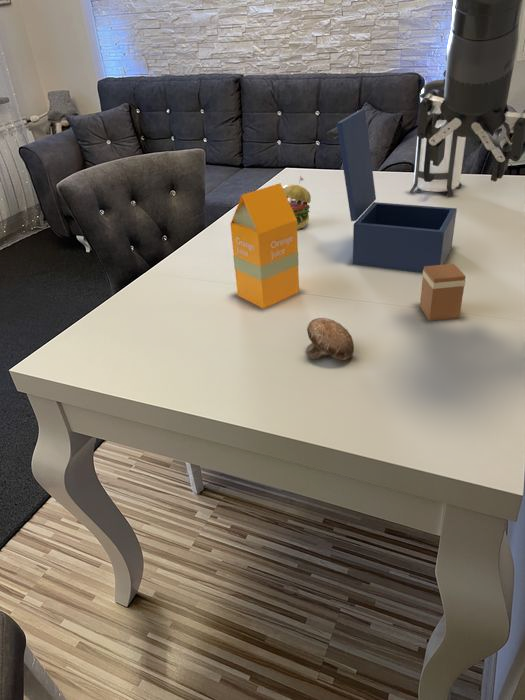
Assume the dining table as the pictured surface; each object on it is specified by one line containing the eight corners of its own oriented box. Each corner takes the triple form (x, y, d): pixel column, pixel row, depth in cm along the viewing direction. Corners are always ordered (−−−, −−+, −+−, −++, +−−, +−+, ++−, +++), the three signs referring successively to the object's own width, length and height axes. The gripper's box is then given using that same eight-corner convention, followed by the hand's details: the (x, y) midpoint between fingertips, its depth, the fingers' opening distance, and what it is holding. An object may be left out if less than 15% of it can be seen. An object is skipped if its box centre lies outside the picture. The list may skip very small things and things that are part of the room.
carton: (448, 306, 92) (454, 263, 88) (459, 320, 88) (466, 276, 83) (418, 309, 92) (423, 266, 87) (428, 323, 87) (434, 279, 83)
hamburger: (274, 228, 130) (271, 178, 124) (295, 220, 134) (293, 171, 127) (296, 235, 125) (294, 184, 119) (317, 227, 129) (317, 176, 122)
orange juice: (237, 298, 100) (226, 191, 89) (272, 282, 104) (266, 179, 94) (264, 311, 95) (255, 199, 84) (300, 295, 99) (296, 186, 88)
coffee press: (395, 187, 151) (403, 69, 135) (448, 181, 153) (462, 63, 137) (421, 205, 137) (433, 75, 121) (479, 198, 139) (499, 68, 123)
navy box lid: (364, 108, 105) (341, 113, 107) (341, 122, 95) (316, 126, 97) (376, 199, 113) (354, 201, 116) (356, 220, 103) (332, 222, 105)
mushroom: (288, 347, 78) (312, 313, 76) (301, 339, 85) (323, 307, 84) (332, 380, 77) (358, 346, 75) (341, 369, 84) (365, 337, 82)
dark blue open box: (451, 250, 112) (456, 208, 107) (438, 277, 101) (444, 232, 97) (371, 242, 119) (373, 202, 114) (352, 266, 108) (353, 223, 103)
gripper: (555, 51, 61) (527, 164, 74) (437, 34, 67) (431, 141, 81) (528, 92, 58) (504, 201, 72) (408, 70, 65) (407, 174, 78)
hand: (466, 169), depth 76 cm, fingers open, 8 cm apart
